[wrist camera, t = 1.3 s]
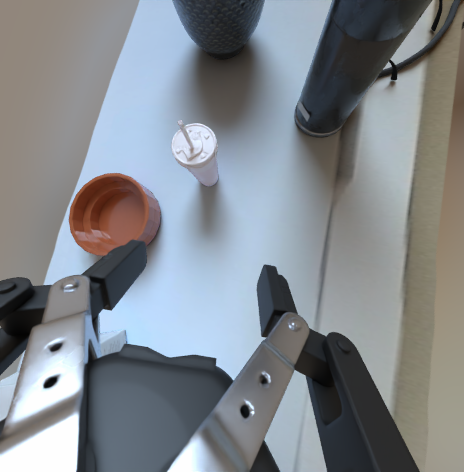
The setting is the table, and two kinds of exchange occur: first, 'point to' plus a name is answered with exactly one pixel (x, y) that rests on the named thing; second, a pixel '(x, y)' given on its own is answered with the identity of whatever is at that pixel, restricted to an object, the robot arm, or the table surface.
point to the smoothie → (197, 151)
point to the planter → (219, 23)
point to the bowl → (113, 213)
